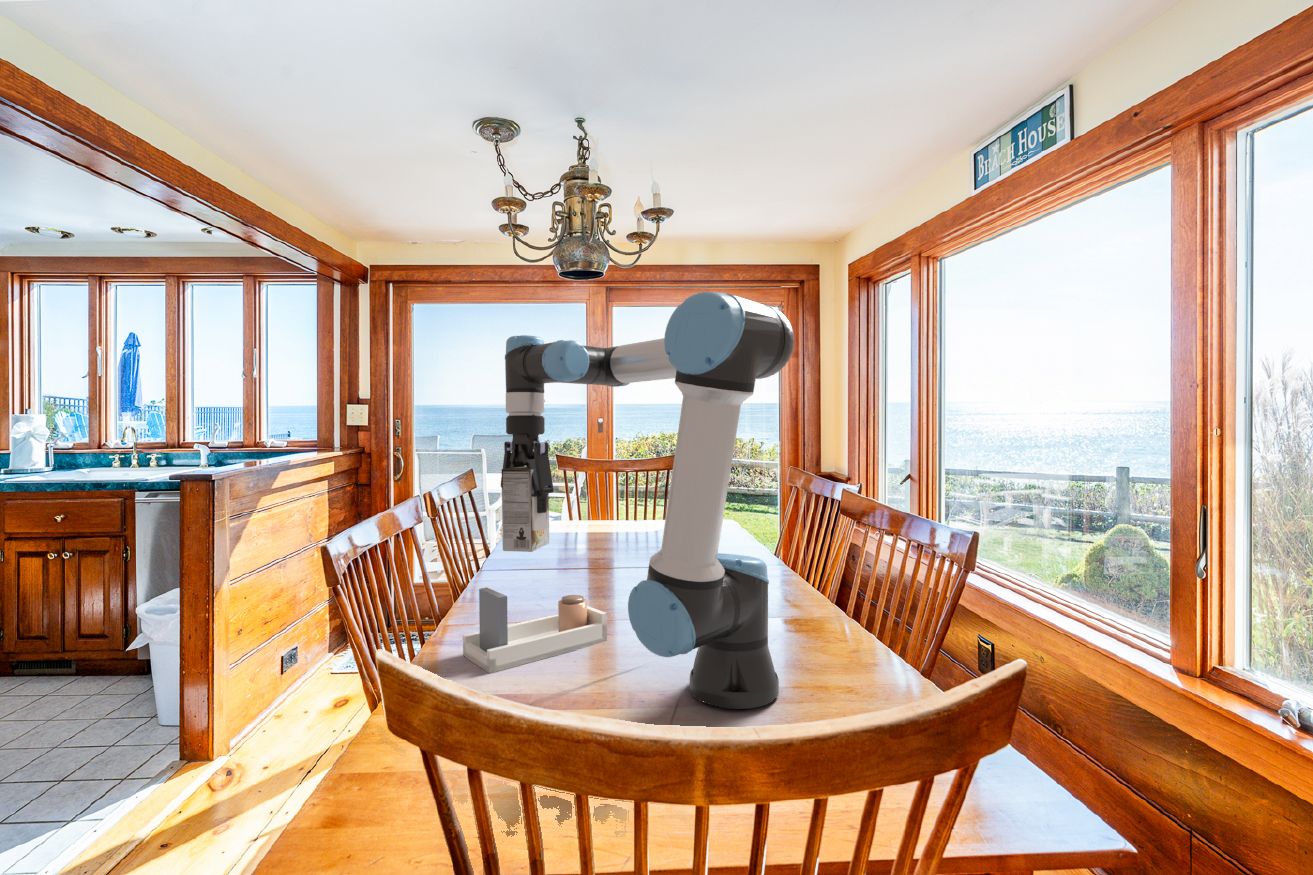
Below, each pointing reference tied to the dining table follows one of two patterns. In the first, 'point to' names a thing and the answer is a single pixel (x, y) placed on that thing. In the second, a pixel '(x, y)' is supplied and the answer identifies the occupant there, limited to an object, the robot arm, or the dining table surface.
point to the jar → (572, 612)
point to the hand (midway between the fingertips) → (526, 526)
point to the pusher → (492, 619)
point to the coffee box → (520, 512)
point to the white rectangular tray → (536, 641)
